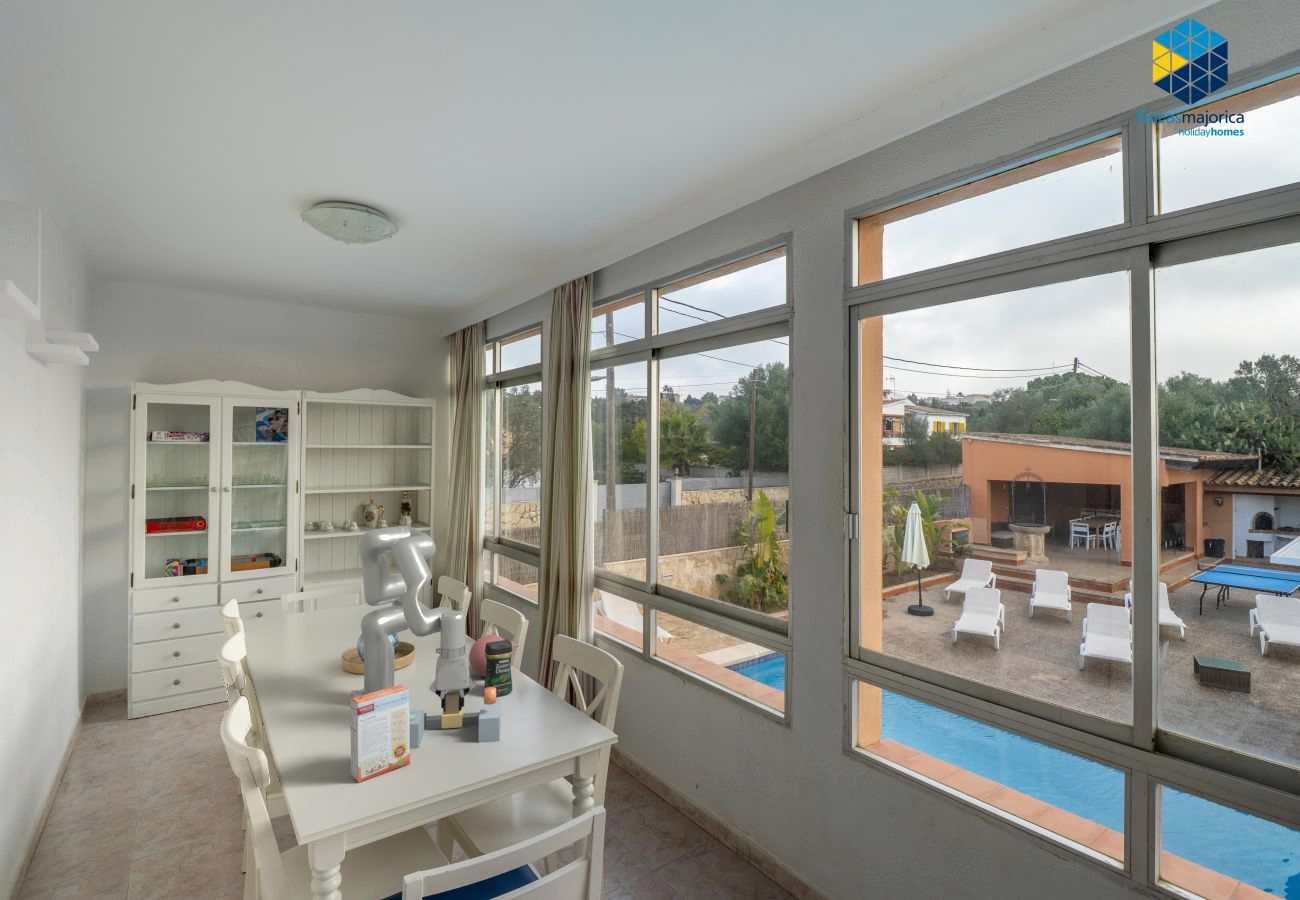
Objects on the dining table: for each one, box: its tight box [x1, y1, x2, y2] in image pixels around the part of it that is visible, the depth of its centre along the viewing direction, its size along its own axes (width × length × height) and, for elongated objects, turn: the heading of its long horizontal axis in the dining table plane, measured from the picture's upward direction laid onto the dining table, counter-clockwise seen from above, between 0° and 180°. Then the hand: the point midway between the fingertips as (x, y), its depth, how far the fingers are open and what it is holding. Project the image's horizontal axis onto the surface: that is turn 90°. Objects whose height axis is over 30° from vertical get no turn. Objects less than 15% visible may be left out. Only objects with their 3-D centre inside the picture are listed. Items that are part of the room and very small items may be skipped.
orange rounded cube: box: [483, 687, 497, 705], centre depth 188 cm, size 4×4×4 cm
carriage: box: [441, 690, 464, 730], centre depth 195 cm, size 6×5×10 cm
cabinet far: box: [478, 703, 502, 743], centre depth 190 cm, size 6×10×7 cm, turn 11°
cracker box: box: [349, 684, 411, 783], centre depth 168 cm, size 14×6×21 cm, turn 134°
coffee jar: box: [483, 639, 514, 698], centre depth 221 cm, size 10×8×19 cm
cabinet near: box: [409, 709, 425, 749], centre depth 185 cm, size 7×10×8 cm
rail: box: [424, 711, 480, 731], centre depth 195 cm, size 20×3×4 cm, turn 101°
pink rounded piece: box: [468, 634, 520, 677], centre depth 239 cm, size 15×20×15 cm
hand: (452, 708), depth 195 cm, fingers closed on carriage, 4 cm apart
